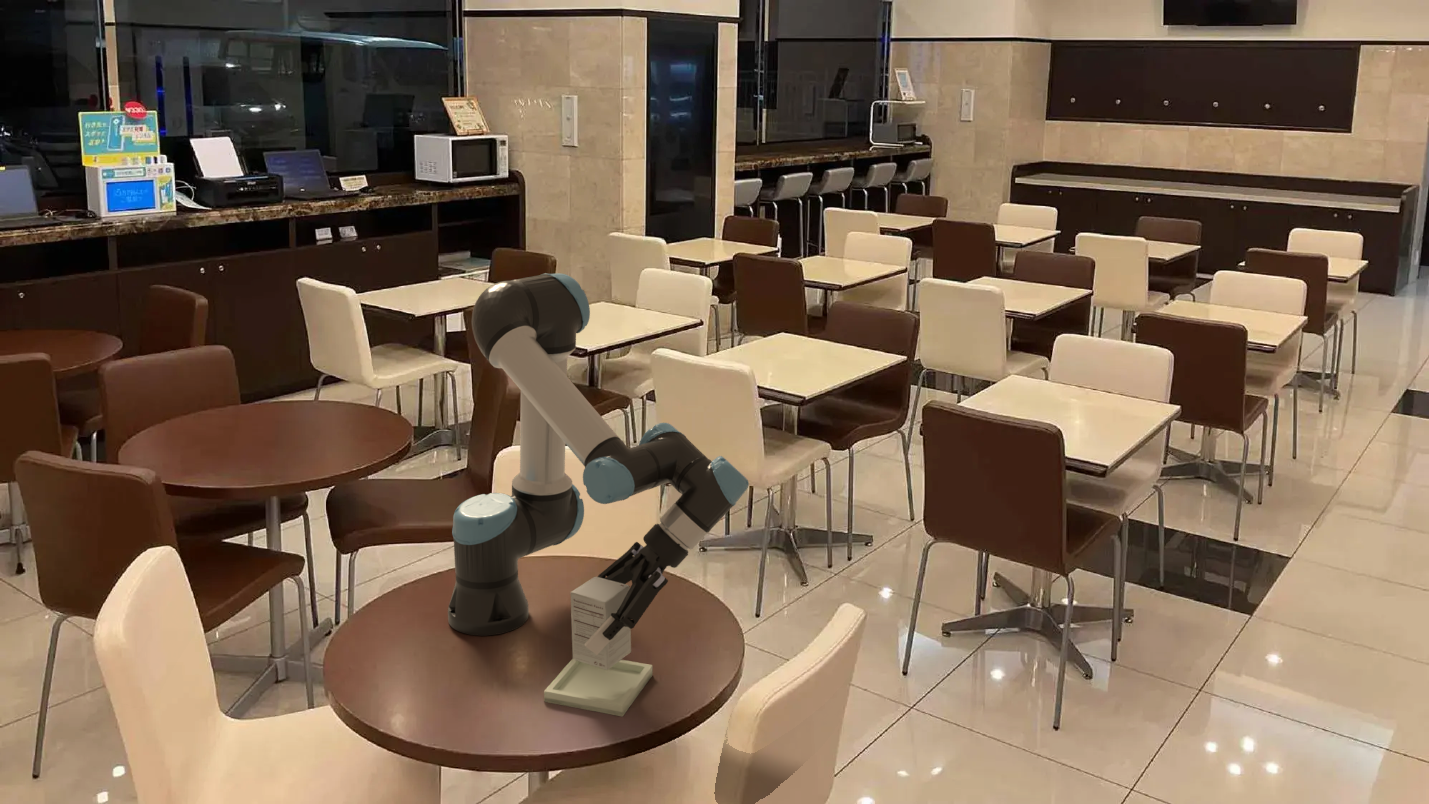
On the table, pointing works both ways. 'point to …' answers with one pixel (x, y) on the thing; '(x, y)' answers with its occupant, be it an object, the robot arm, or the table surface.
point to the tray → (599, 686)
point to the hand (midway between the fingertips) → (583, 634)
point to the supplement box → (598, 621)
